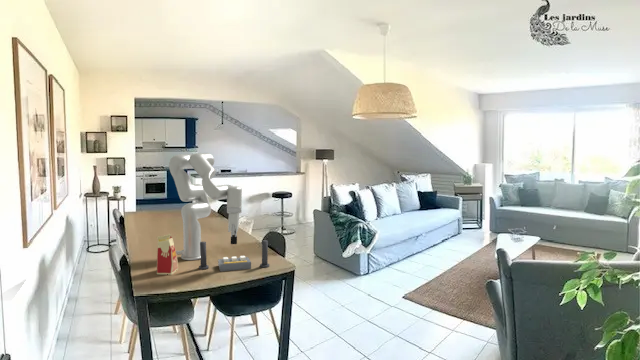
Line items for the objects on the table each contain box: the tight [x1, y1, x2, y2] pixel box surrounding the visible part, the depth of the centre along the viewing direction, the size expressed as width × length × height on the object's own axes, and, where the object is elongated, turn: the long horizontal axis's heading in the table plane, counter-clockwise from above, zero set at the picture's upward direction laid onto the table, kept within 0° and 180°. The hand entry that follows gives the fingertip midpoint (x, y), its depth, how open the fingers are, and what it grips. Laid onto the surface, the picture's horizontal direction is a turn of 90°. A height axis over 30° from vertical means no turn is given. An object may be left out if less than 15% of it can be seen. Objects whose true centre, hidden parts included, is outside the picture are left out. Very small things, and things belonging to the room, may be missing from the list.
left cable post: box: [198, 241, 209, 271], centre depth 210 cm, size 5×5×14 cm
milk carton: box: [156, 233, 179, 276], centre depth 203 cm, size 9×9×20 cm
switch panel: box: [217, 255, 252, 272], centre depth 213 cm, size 16×10×6 cm, turn 110°
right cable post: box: [259, 239, 270, 269], centre depth 215 cm, size 5×5×14 cm
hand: (233, 243), depth 212 cm, fingers closed
